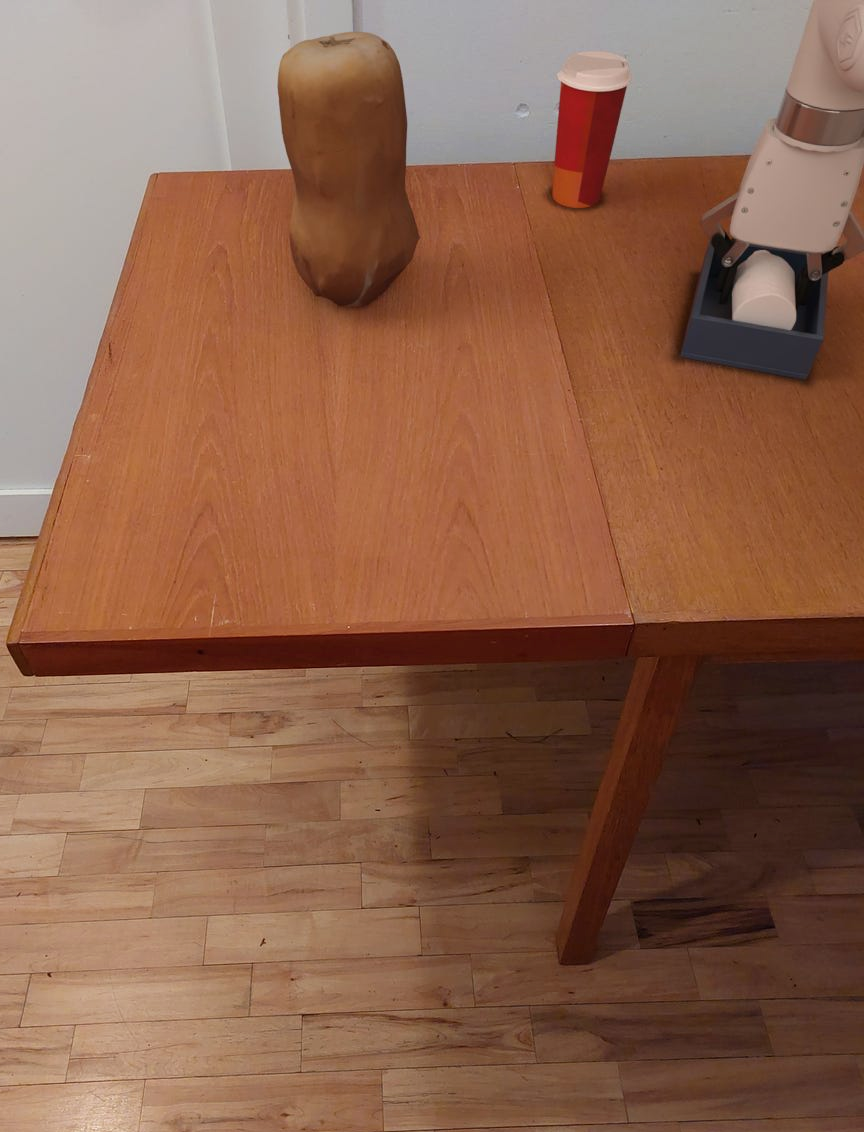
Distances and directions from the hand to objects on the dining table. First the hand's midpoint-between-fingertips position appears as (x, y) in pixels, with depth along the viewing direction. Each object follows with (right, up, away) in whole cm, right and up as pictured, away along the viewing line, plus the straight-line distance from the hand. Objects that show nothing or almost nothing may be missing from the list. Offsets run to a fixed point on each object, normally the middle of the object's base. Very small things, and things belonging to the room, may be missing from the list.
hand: (757, 302), depth 92 cm
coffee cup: (-15, +21, +20) cm, 32 cm away
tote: (0, -2, +2) cm, 3 cm away
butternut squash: (-42, +3, +6) cm, 43 cm away
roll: (0, -1, +1) cm, 1 cm away
